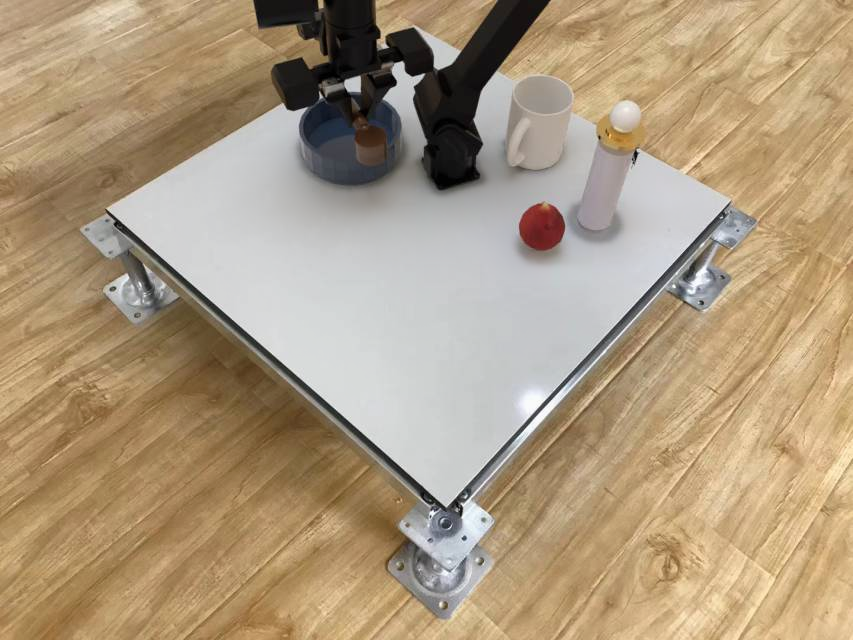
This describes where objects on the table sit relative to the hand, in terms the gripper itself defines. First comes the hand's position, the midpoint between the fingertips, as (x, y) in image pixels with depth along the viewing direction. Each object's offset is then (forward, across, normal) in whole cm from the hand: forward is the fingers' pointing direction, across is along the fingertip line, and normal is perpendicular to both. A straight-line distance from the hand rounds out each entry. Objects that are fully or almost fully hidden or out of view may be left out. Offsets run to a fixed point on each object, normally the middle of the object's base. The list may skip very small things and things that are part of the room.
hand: (357, 123), depth 97 cm
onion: (+11, -17, +20) cm, 28 cm away
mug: (+11, -24, +5) cm, 27 cm away
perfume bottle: (+11, -26, +19) cm, 34 cm away
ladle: (+2, 0, +2) cm, 2 cm away
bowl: (+11, -2, -7) cm, 13 cm away
